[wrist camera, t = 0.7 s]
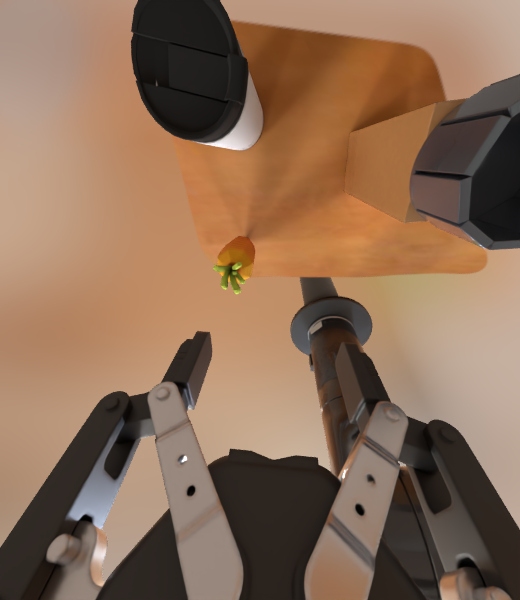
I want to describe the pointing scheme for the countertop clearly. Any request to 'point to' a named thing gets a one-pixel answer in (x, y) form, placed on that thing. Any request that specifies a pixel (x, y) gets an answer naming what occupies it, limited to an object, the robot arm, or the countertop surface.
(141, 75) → the travel mug
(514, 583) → the robot arm
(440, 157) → the pad socket
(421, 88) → the countertop surface
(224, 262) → the carrot
